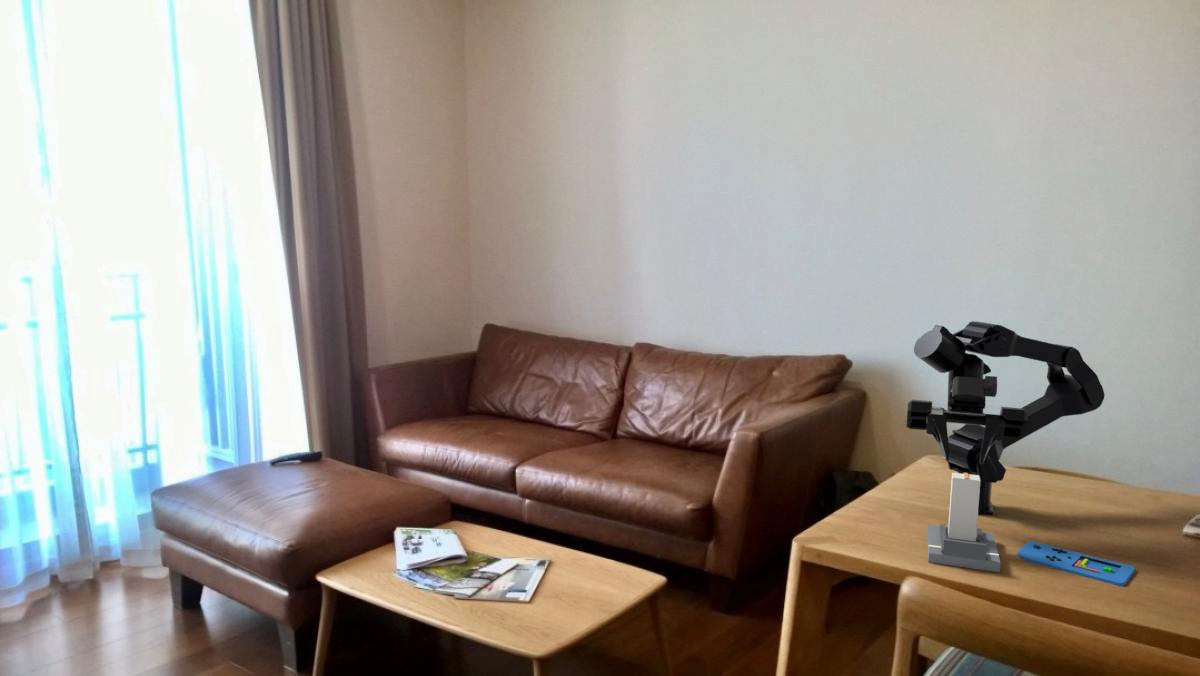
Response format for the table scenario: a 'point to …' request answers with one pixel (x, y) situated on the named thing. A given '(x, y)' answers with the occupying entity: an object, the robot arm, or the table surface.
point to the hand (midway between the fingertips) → (964, 461)
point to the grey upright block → (964, 506)
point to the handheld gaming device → (1076, 563)
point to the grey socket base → (963, 550)
